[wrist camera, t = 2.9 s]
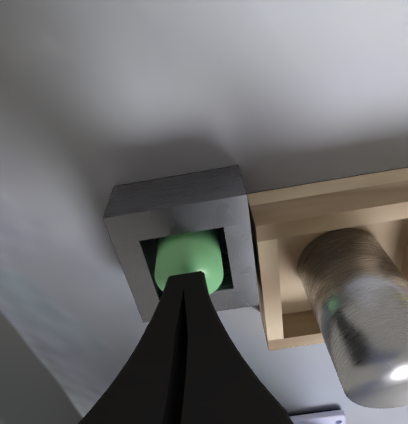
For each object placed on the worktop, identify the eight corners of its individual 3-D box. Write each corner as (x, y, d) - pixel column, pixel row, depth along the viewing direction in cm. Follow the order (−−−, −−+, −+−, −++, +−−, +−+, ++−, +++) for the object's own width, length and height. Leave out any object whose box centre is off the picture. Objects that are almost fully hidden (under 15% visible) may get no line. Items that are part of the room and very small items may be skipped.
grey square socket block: (251, 268, 19) (259, 304, 16) (147, 284, 19) (143, 322, 17) (238, 165, 15) (246, 194, 13) (114, 186, 16) (102, 218, 14)
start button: (221, 250, 18) (227, 294, 15) (166, 258, 18) (163, 304, 15) (213, 202, 16) (218, 243, 14) (152, 212, 16) (146, 255, 14)
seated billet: (376, 284, 18) (448, 400, 13) (298, 296, 18) (341, 414, 13) (384, 221, 16) (476, 331, 11) (296, 235, 16) (346, 349, 11)
